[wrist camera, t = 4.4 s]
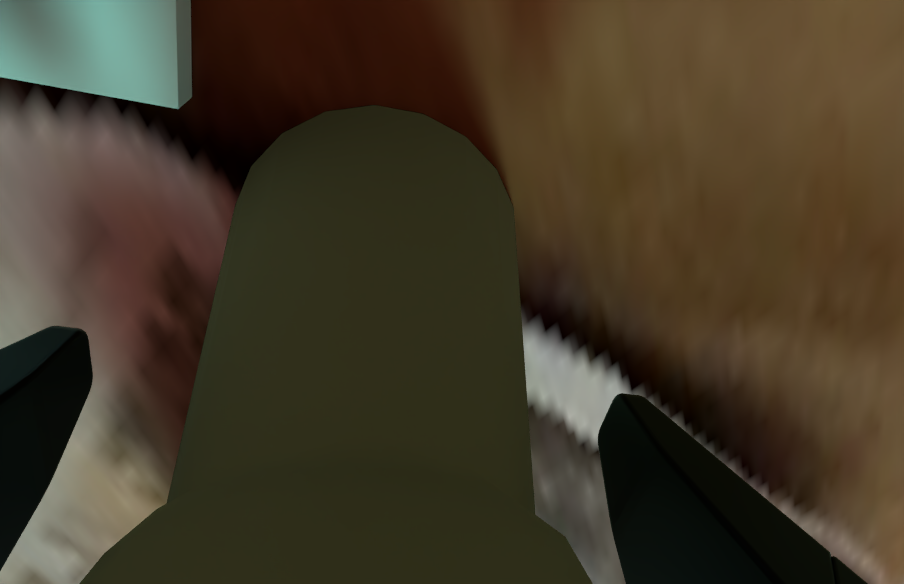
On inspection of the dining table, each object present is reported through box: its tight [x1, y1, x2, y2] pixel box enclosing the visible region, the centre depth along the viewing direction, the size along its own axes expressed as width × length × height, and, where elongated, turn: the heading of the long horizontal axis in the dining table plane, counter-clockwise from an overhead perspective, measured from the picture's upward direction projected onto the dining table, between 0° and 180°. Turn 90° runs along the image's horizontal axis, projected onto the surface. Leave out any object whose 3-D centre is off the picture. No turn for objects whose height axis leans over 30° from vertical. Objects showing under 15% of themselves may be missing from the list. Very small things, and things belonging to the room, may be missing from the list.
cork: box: [80, 105, 592, 584], centre depth 8 cm, size 6×6×11 cm
